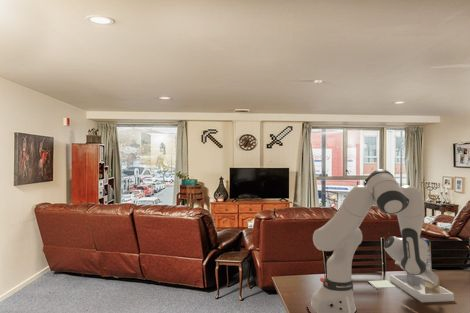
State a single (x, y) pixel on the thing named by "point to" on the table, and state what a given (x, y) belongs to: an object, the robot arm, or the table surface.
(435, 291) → the banded box
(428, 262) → the beverage box
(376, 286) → the sage board
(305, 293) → the table surface
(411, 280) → the grey box
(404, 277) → the bin
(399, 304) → the table surface
